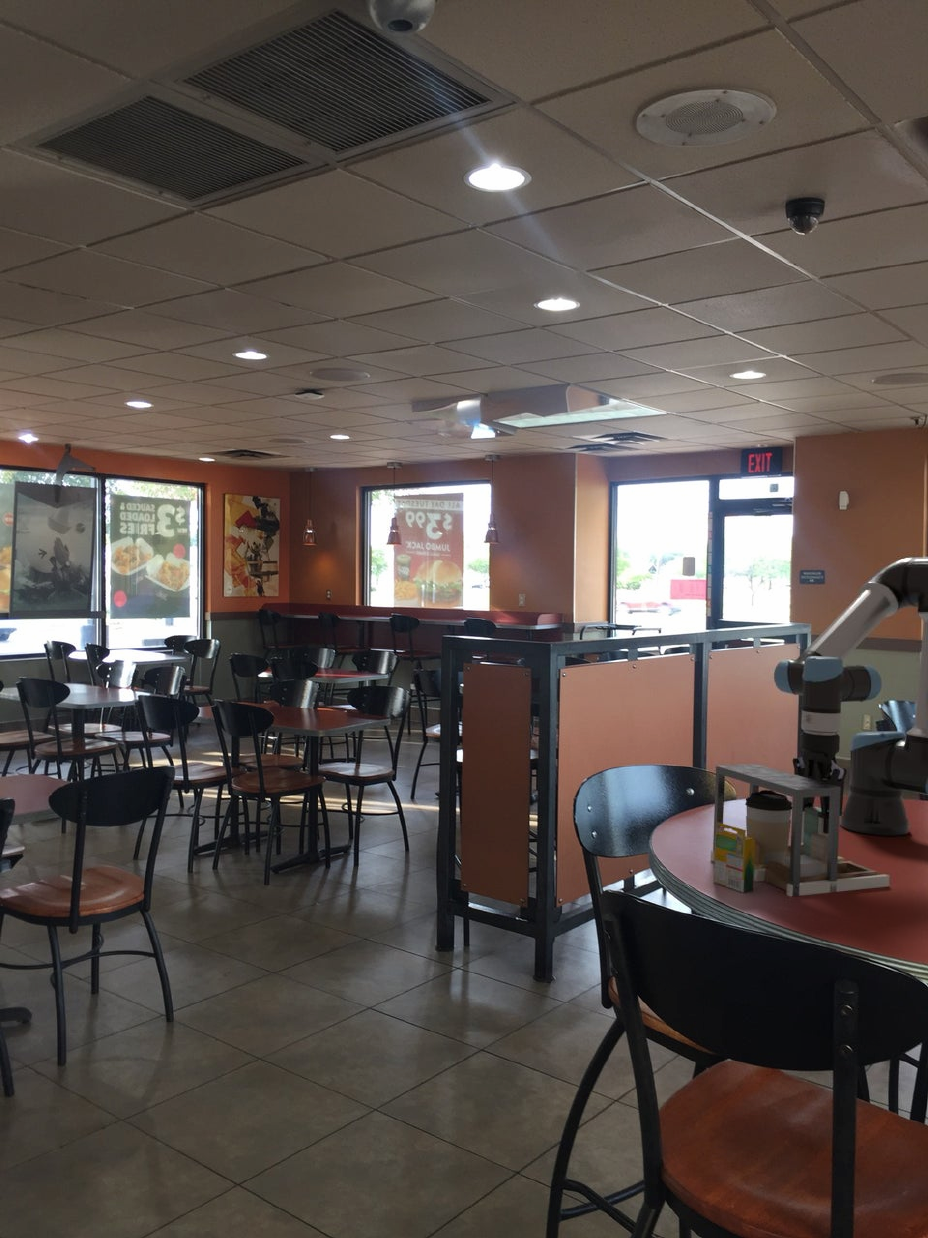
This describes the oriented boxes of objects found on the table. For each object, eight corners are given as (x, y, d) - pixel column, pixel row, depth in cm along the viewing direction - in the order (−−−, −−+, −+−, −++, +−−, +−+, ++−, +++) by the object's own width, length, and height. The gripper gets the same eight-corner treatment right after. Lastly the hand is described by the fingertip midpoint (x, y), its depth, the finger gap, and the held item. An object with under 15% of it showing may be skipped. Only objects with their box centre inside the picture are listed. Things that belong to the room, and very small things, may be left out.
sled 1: (803, 854, 208) (805, 802, 208) (843, 870, 197) (846, 815, 196) (723, 861, 201) (725, 807, 200) (761, 877, 190) (763, 821, 189)
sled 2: (848, 873, 195) (850, 828, 194) (877, 884, 188) (879, 837, 187) (765, 881, 188) (766, 834, 187) (791, 893, 180) (793, 844, 180)
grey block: (803, 880, 189) (804, 855, 189) (821, 888, 184) (822, 862, 184) (782, 883, 187) (783, 857, 187) (800, 890, 183) (801, 864, 183)
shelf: (753, 856, 205) (756, 763, 205) (836, 891, 182) (840, 787, 182) (712, 860, 202) (716, 765, 201) (792, 896, 179) (796, 789, 178)
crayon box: (754, 891, 181) (756, 828, 181) (743, 893, 180) (745, 830, 179) (723, 880, 188) (726, 820, 187) (712, 882, 186) (715, 821, 186)
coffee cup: (792, 876, 192) (795, 799, 191) (744, 872, 194) (747, 796, 193) (787, 863, 201) (789, 790, 200) (741, 859, 203) (744, 787, 202)
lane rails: (801, 852, 210) (801, 843, 210) (888, 886, 187) (889, 875, 187) (710, 860, 201) (710, 850, 201) (790, 896, 179) (790, 885, 178)
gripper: (777, 726, 207) (773, 836, 208) (835, 739, 191) (830, 858, 192) (806, 725, 210) (802, 834, 211) (865, 738, 194) (860, 855, 195)
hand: (815, 845), depth 201 cm, fingers closed on sled 1, 4 cm apart
